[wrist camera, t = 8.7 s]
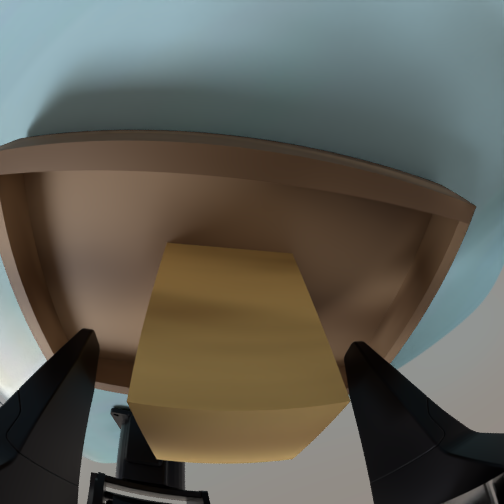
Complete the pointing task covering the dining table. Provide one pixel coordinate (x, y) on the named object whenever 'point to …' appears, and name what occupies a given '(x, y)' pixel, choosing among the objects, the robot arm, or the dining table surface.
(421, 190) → the walnut tray
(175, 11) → the dining table surface
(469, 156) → the dining table surface
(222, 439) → the ochre block
